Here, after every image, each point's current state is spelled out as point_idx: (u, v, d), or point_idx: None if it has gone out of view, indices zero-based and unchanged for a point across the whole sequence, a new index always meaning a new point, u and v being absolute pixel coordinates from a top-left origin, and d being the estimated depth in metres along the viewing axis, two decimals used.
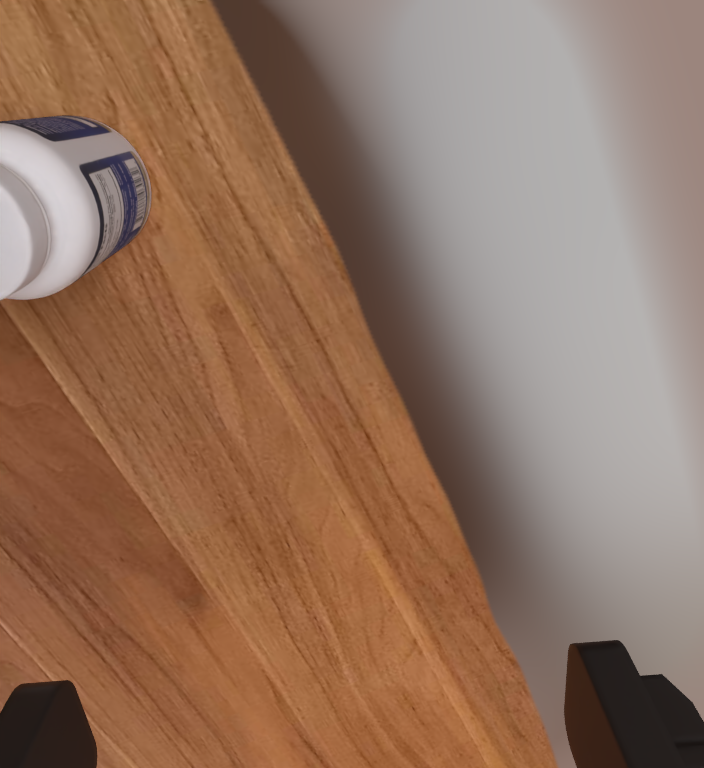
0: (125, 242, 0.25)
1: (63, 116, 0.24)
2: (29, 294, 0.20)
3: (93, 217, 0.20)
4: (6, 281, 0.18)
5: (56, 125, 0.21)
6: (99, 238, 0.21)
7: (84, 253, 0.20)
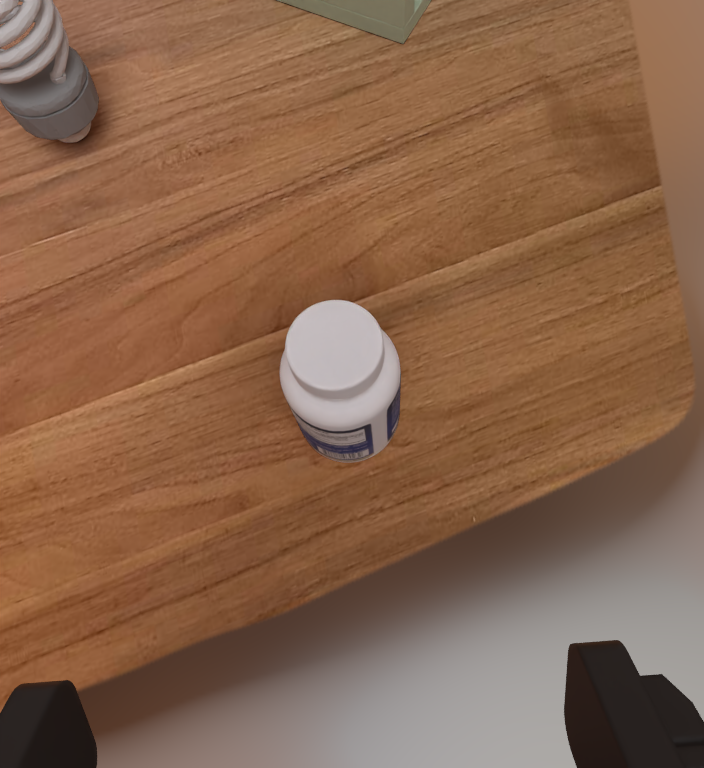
0: (308, 438, 0.32)
1: (399, 411, 0.33)
2: (284, 373, 0.28)
3: (335, 427, 0.27)
4: (300, 367, 0.25)
5: (395, 409, 0.30)
6: (319, 427, 0.28)
7: (310, 416, 0.27)
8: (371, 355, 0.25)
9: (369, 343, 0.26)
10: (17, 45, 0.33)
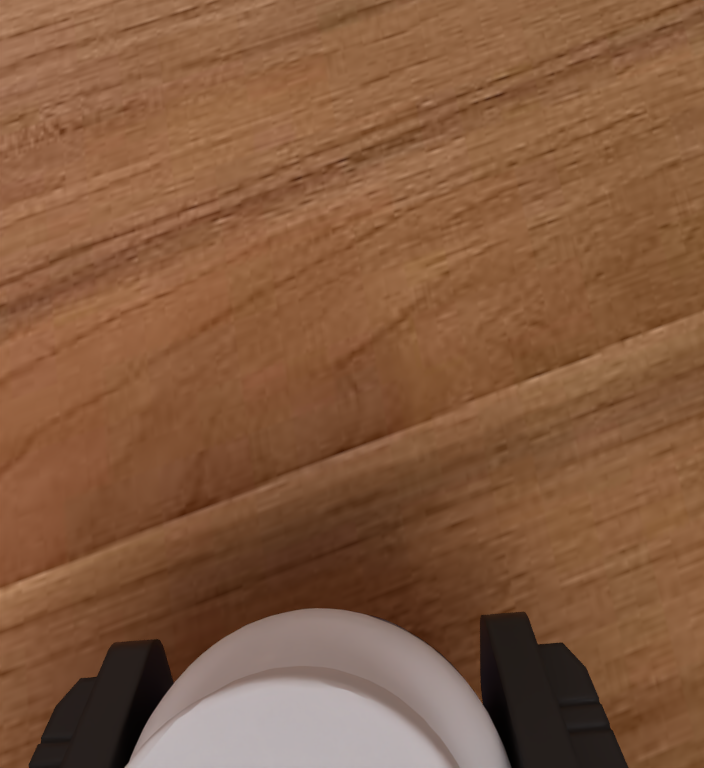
0: None
1: None
2: None
3: None
4: None
5: None
6: None
7: None
8: None
9: None
10: None
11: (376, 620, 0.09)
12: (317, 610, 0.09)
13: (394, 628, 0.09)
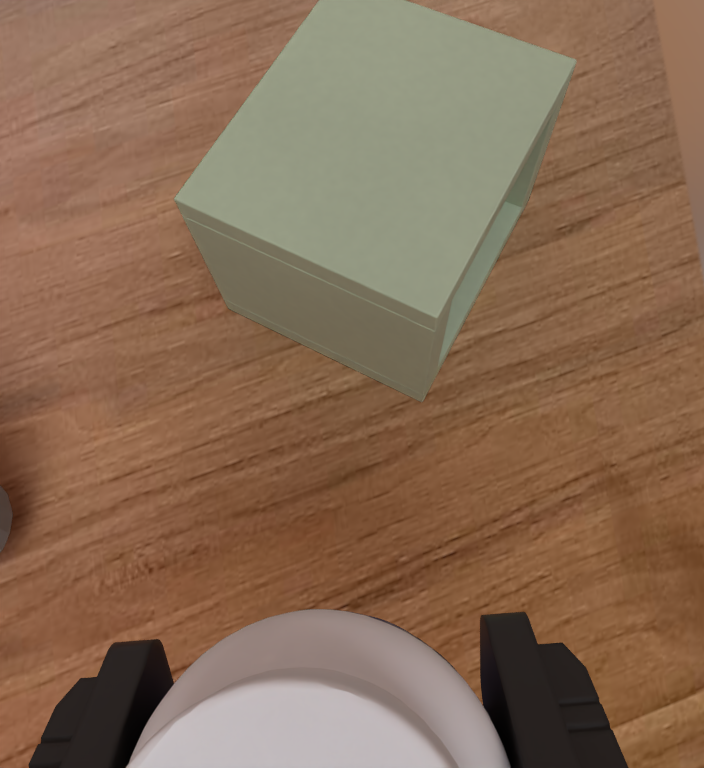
0: None
1: None
2: None
3: None
4: None
5: None
6: None
7: None
8: None
9: None
10: None
11: (376, 621, 0.09)
12: (317, 611, 0.09)
13: (394, 629, 0.09)
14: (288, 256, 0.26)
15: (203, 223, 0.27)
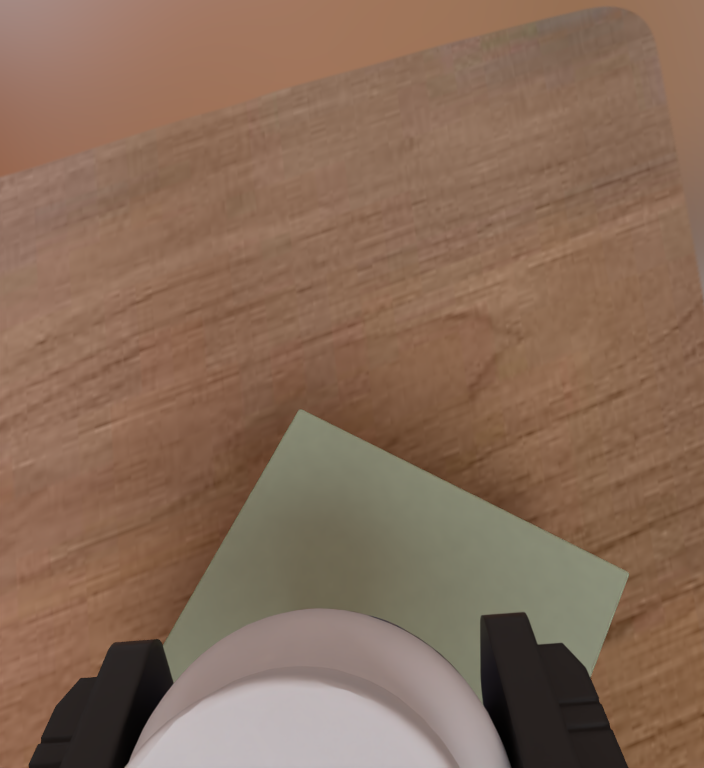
0: None
1: None
2: None
3: None
4: None
5: None
6: None
7: None
8: None
9: None
10: None
11: (376, 620, 0.09)
12: (317, 610, 0.09)
13: (394, 628, 0.09)
14: None
15: None
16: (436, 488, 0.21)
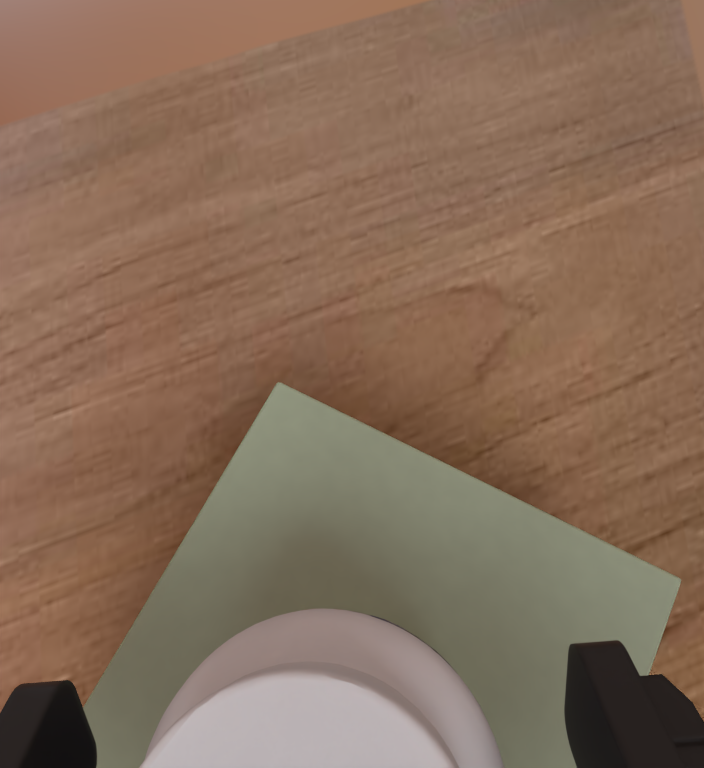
0: None
1: None
2: None
3: None
4: None
5: None
6: None
7: None
8: None
9: None
10: None
11: (376, 620, 0.10)
12: (321, 610, 0.10)
13: (393, 627, 0.10)
14: None
15: None
16: (443, 476, 0.18)
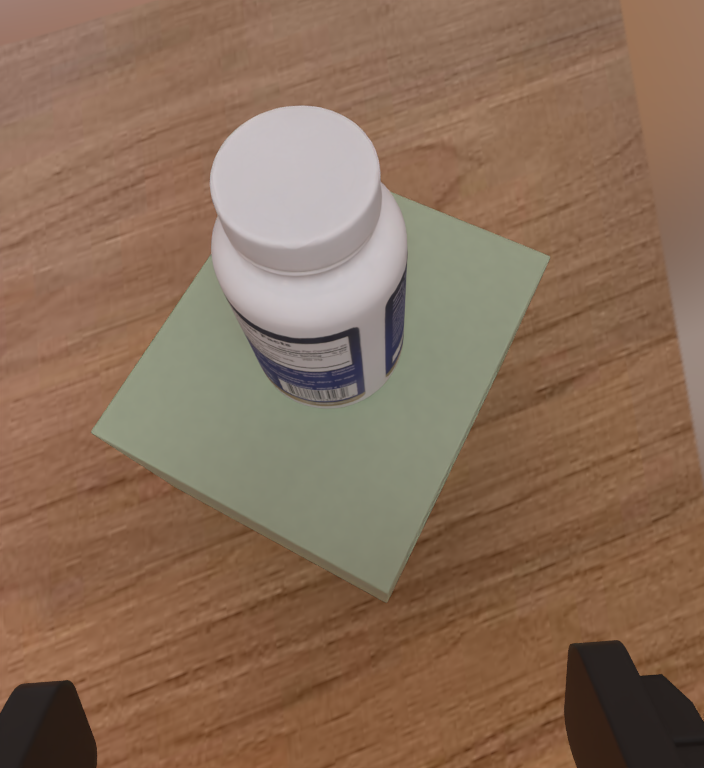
0: (266, 368, 0.21)
1: (403, 330, 0.22)
2: (216, 242, 0.17)
3: (299, 329, 0.17)
4: (234, 210, 0.14)
5: (398, 317, 0.19)
6: (273, 333, 0.17)
7: (258, 311, 0.16)
8: (358, 190, 0.14)
9: (354, 171, 0.15)
10: None
11: None
12: None
13: None
14: (220, 503, 0.22)
15: (127, 453, 0.24)
16: None
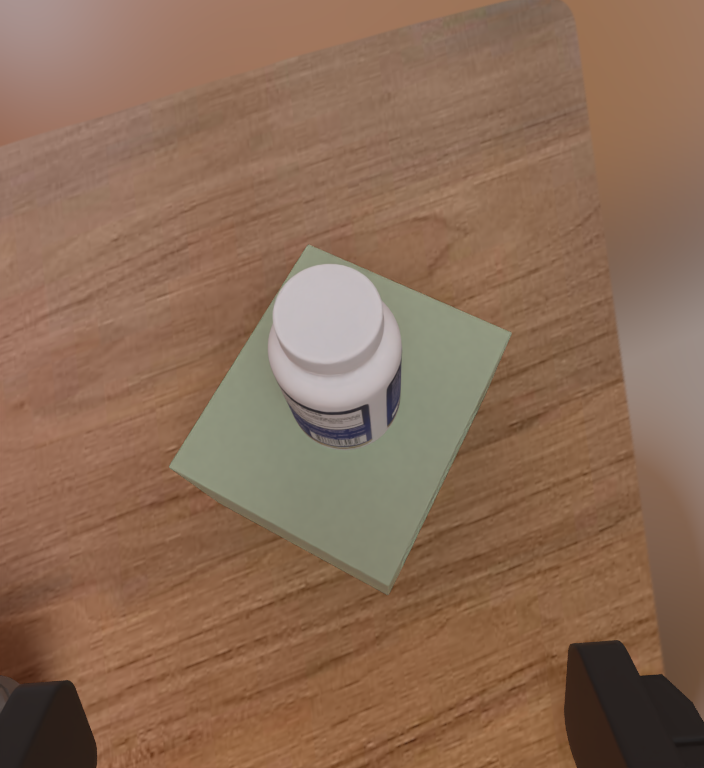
0: (300, 423, 0.29)
1: (400, 393, 0.30)
2: (272, 347, 0.25)
3: (328, 407, 0.25)
4: (289, 338, 0.23)
5: (396, 390, 0.27)
6: (311, 408, 0.25)
7: (301, 395, 0.24)
8: (369, 324, 0.23)
9: (366, 311, 0.23)
10: None
11: None
12: None
13: None
14: (265, 520, 0.31)
15: (194, 481, 0.32)
16: (394, 288, 0.34)
